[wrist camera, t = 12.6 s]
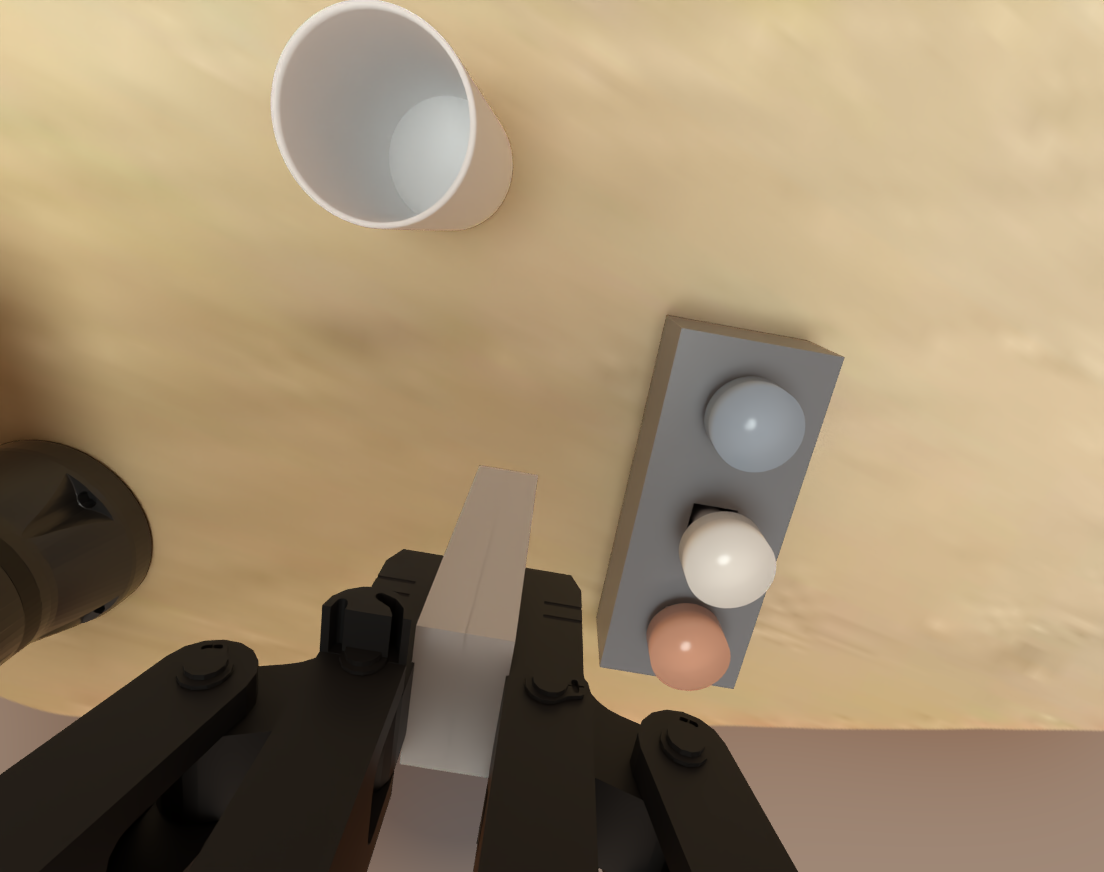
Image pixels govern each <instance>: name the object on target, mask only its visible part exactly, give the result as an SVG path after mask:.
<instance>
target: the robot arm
mask: <svg viewBox="0 0 1104 872" xmlns="http://www.w3.org/2000/svg"><path fill="white" fill-rule="evenodd" d="M537 479H538V475H534V474H529V473H523V472H517V471H511V470H505V469H500V468H494V467H488V466H482V465H479V468H478V470H477V473H476V475H475V478H474V480H473V483H472V486H471V488H470V491H469V493H468V496H467V498H466V501H465V503H464V506H463V508H462V511H461V513H460V516H459V518H458V521H457V523H456V526H455V529H454V531H453V534H452V536H451V539H450V541H449V544H448V546H447V549H446V551H445V554H444V556H442V555H436V554H430V553H424V552H418V551H412V550H406V549H403V550H401V551H400V552H398V553H397V554H395V555H394V556H392V557H391V558H389V559H388V560H386V562H385V564H384V565H383V567H382V569H381V571H380V573H379V574H378V578H376V580H375V581H374V583H373V585H372V587H359V588H353V589H348V590H345V591H343V592H340V593H338V594H336V595H334V596H332V597H331V598H330V599H329V600H328V601H327V602H325V603H324V604H323V605H322V621H321V638H320V652H319V653H318V655H317V657H316V658H314V659H311V660H307V661H304V662H299V663H292V664H284V665H270V666H258V659H257V657H256V655H255V653H254V651H253V650H252V649H250V648H248V647H247V646H245V645H244V644H242V643H239V642H234V641H228V640H211V641H202V642H199V643H195V644H192V645H188V646H185V647H183V648H181V649H179V650H177V651H175V652H173V653H172V654H170V655H168V656H166V657H165V658H163V659H162V660H161V661H159V662H158V663H156V664H155V665H154V666H152V667H151V668H149V669H148V670H147V671H145V672H144V673H142V674H141V675H140V676H138V677H137V678H135V679H134V680H133V681H131V682H130V683H128V684H127V685H125V686H124V687H123V688H121V689H120V690H118V691H117V692H116V693H114V694H113V695H111V696H110V697H109V698H107V699H106V700H104V701H103V702H102V703H100V704H99V705H97V706H96V707H95V708H93V709H92V710H90V711H89V712H88V713H86V714H85V715H83V716H82V717H81V718H79V719H78V720H77V721H75V722H74V723H72V724H71V725H70V726H68V727H67V728H65V729H64V730H62V731H61V732H60V733H58V734H57V735H55V736H54V737H53V738H51V739H50V740H49V741H47V742H46V743H44V744H43V745H41V746H40V747H38V748H37V749H36V750H34V751H33V752H32V753H30V754H29V755H27V756H26V757H25V758H23V759H22V760H20V761H19V762H17V763H16V764H15V765H13V766H12V767H11V768H9V769H8V770H6V771H5V772H3V773H2V774H1V775H0V872H367V869H368V867H369V863H370V860H371V857H372V854H373V850H374V848H375V844H376V841H377V838H378V835H379V832H380V829H381V825H382V822H383V819H384V816H385V813H386V810H387V807H388V803H389V800H390V797H391V794H392V793H391V792H392V784H393V776H394V769H395V766H396V763H397V760H398V757H399V754H400V751H401V758H400V764H403V765H410V766H417V767H423V768H429V769H435V770H441V771H447V772H454V773H460V774H466V775H473V776H479V777H485V778H488V784H487V789H486V795H485V800H484V806H483V811H482V817H481V822H480V827H479V833H478V838H477V850H476V856H475V863H474V869H473V872H598V868H600V869H602V871H603V872H798V871H797V869H796V868H795V866H794V864H793V862H792V860H791V859H790V857H789V855H788V853H787V852H786V850H785V848H784V846H783V844H782V843H781V841H780V839H779V837H778V836H777V834H776V833H775V831H774V829H773V827H772V825H771V823H770V822H769V820H768V818H767V816H766V815H765V813H764V811H763V809H762V808H761V806H760V804H759V802H758V801H757V799H756V797H755V795H754V794H753V792H752V790H751V788H750V786H749V785H748V783H747V781H746V780H745V778H744V776H743V774H742V773H741V771H740V769H739V767H738V766H737V764H736V762H735V760H734V758H733V757H732V755H731V753H730V751H729V750H728V748H727V746H726V744H725V743H724V742H723V740H722V739H721V738H720V737H719V735H718V734H717V733H716V732H715V730H714V729H712V728H711V727H710V726H708V725H707V724H706V723H704V722H703V721H702V720H700V719H698V718H696V717H694V716H691V715H689V714H686V713H684V712H679V711H672V710H663V711H658V712H653V713H651V714H650V715H649V716H647V717H646V718H645V719H643V720H642V722H641V725H640V724H638V723H636V722H633V721H631V720H629V719H626V718H624V717H622V716H620V715H618V714H616V713H614V712H612V711H610V710H608V709H607V708H606V707H604V706H603V705H602V704H601V703H599V702H598V701H597V700H596V699H595V698H594V696H593V695H592V694H591V692H590V689H589V685H588V682H587V681H586V680H585V679H584V674H583V639H582V610H581V608H582V603H581V590H580V588H579V587H578V585H577V584H576V582H575V581H574V579H573V578H572V576H571V575H565V574H559V573H554V572H548V571H542V570H536V569H530V568H525V566H526V559H527V552H528V545H529V537H530V530H531V523H532V515H533V508H534V501H535V494H536V486H537ZM151 552H152V544H151V536H150V531H149V527H148V524H147V521H146V518H145V516H144V513H143V511H142V509H141V507H140V505H139V504H138V502H137V500H136V499H135V497H134V496H133V494H132V493H131V492H130V491H129V489H128V488H127V487H126V486H125V485H124V483H123V482H122V481H121V480H120V479H119V478H118V477H117V476H116V475H115V474H113V473H112V472H111V471H110V470H109V469H107V468H106V467H105V466H103V465H102V464H101V463H99V462H98V461H96V460H95V459H93V458H91V457H89V456H88V455H86V454H84V453H82V452H80V451H78V450H75V449H73V448H70V447H67V446H64V445H61V444H57V443H53V442H48V441H40V440H21V441H14V442H9V443H5V444H2V445H0V665H2V664H3V663H4V662H6V661H7V660H8V659H9V658H11V657H12V656H13V655H15V654H16V653H17V652H19V651H20V650H21V649H23V648H24V647H25V646H27V645H28V644H30V643H32V642H35V641H38V640H40V639H43V638H45V637H48V636H51V635H53V634H56V633H59V632H61V631H64V630H67V629H69V628H72V627H74V626H77V625H79V624H81V623H85V622H88V621H90V620H93V619H95V618H97V617H99V616H101V615H103V614H105V613H107V612H108V611H110V610H111V609H113V608H114V607H115V606H117V605H118V604H119V603H120V602H121V601H123V600H124V599H125V598H126V597H128V596H129V595H130V594H131V593H132V592H134V591H135V589H136V588H137V587H138V586H139V585H140V584H141V582H142V581H143V579H144V577H145V575H146V573H147V571H148V568H149V565H150V560H151ZM401 748H402V749H401Z"/></svg>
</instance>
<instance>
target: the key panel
mask: <svg viewBox="0 0 1104 872" xmlns="http://www.w3.org/2000/svg"><path fill="white" fill-rule="evenodd" d="M843 360H844V357H843V356H841V355H838V354H836V353H834V352H832V351H830V350H827V349H825V348H823V347H821V346H818V345H816V344H814V343H812V342H810V341H807V340H802V339H796V338H791V337H785V336H780V335H774V334H769V333H763V332H758V331H752V330H746V329H741V328H735V327H730V326H724V325H719V324H713V323H708V322H702V321H697V320H691V319H685V318H680V317H674V316H669V315H667V316H666V320H665V325H664V329H663V333H662V338H661V342H660V346H659V350H658V355H657V359H656V363H655V368H654V372H653V376H652V381H651V385H650V389H649V393H648V398H647V402H646V406H645V411H644V415H643V419H642V424H641V428H640V432H639V436H638V441H637V445H636V449H635V454H634V458H633V462H632V467H631V471H630V475H629V479H628V484H627V488H626V492H625V497H624V501H623V505H622V510H621V514H620V518H619V522H618V527H617V531H616V535H615V540H614V544H613V548H612V553H611V557H610V561H609V565H608V570H607V574H606V578H605V583H604V587H603V591H602V596H601V600H600V604H599V608H598V613H597V617H596V618H597V633H598V648H599V664H600V667H603V668H609V669H615V670H621V671H627V672H633V673H639V674H646V675H652V676H656V675H655V673H654V671H653V669H652V666H651V662H650V656H649V651H648V645H647V639H646V633H647V628H648V625H649V623H650V621H651V620H652V619H653V617H654V616H655V615H656V614H657V613H659V612H660V611H661V610H663V609H664V608H665V606H671V605H675V604H680V603H691V604H697V605H700V606H703V607H705V608H707V609H708V610H710V611H711V612H712V613H713V614H714V615H715V616H716V617H717V619H718V620H719V622H720V625H721V627H722V630H723V633H724V635H725V638H726V641H727V643H728V646H729V649H730V655H731V657H730V664H729V667H728V669H727V671H726V672H725V674H724V675H723V676H722V677H721V678H720V679H719V680H718V681H717V682H715V683H714V684H712V685H713V686H719V687H725V688H731V689H734V686H735V683H736V680H737V677H738V674H739V671H740V668H741V665H742V662H743V659H744V656H745V653H746V650H747V647H748V644H749V641H750V638H751V635H752V632H753V629H754V626H755V623H756V620H757V617H758V614H759V611H760V609H761V606H762V603H763V600H764V597H765V594H766V592H765V593H764V594H763V595H762V596H761V597H760V598H758V599H757V600H755V601H754V602H752V603H749V604H747V605H744V606H741V607H737V608H718V607H714V606H711V605H708V604H706V603H704V602H703V601H701V600H700V599H698V598H697V597H696V596H695V595H694V593H693V592H692V591H691V589H690V588H689V585H688V583H687V580H686V577H685V574H684V571H683V568H682V565H681V562H680V558H679V544H680V540H681V538H682V536H683V534H684V532H685V531H686V529H687V528H688V527H689V526H690V524H689V519H690V515H691V512H692V508H693V504H694V503H697V504H702V505H708V506H714V507H720V508H721V509H722V511H728V512H734V513H738V514H741V515H743V516H745V517H747V518H749V519H750V520H751V521H752V522H753V523H755V525H756V526H757V527H758V528H759V530H760V532H761V533H762V535H763V536H764V538H765V539H766V541H767V543H768V544H769V546H770V547H771V549H772V551H773V553H774V556H775V559H776V561H777V558H778V555H779V552H780V549H781V546H782V543H783V540H784V537H785V534H786V531H787V528H788V525H789V522H790V519H791V516H792V513H793V510H794V507H795V504H796V501H797V498H798V495H799V492H800V489H801V486H802V483H803V480H804V477H805V474H806V471H807V468H808V465H809V462H810V459H811V456H812V453H813V450H814V447H815V444H816V441H817V438H818V435H819V432H820V429H821V426H822V423H823V420H824V417H825V414H826V411H827V408H828V405H829V402H830V399H831V396H832V393H833V390H834V387H835V384H836V381H837V378H838V375H839V372H840V369H841V366H842V363H843ZM746 376H756V377H762V378H766V379H768V380H770V381H772V382H774V383H775V384H777V385H778V386H779V387H781V388H782V389H784V390H785V391H786V392H788V393H789V394H790V395H792V396H793V397H794V398H795V399H796V400H797V402H798V403H799V404H800V406H801V408H802V410H803V413H804V417H805V433H804V437H803V440H802V442H801V445H800V446H799V448H798V450H797V451H796V452H795V454H794V455H793V456H792V457H791V458H790V459H789V460H788V461H786V462H785V463H783V464H782V465H780V466H778V467H776V468H774V469H772V470H768V471H764V472H745V471H741V470H738V469H736V468H734V467H732V466H730V465H729V464H728V463H726V462H725V461H724V460H723V459H722V458H721V456H720V455H719V454H718V452H717V451H716V449H715V448H714V446H713V445H712V443H711V442H710V440H709V438H708V436H707V434H706V431H705V426H704V416H705V411H706V408H707V405H708V403H709V401H710V399H711V398H712V396H713V395H714V394H715V392H716V391H717V390H718V389H719V388H721V387H722V386H723V385H725V384H726V383H728V382H730V381H732V380H734V379H737V378H741V377H746Z"/></svg>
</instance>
